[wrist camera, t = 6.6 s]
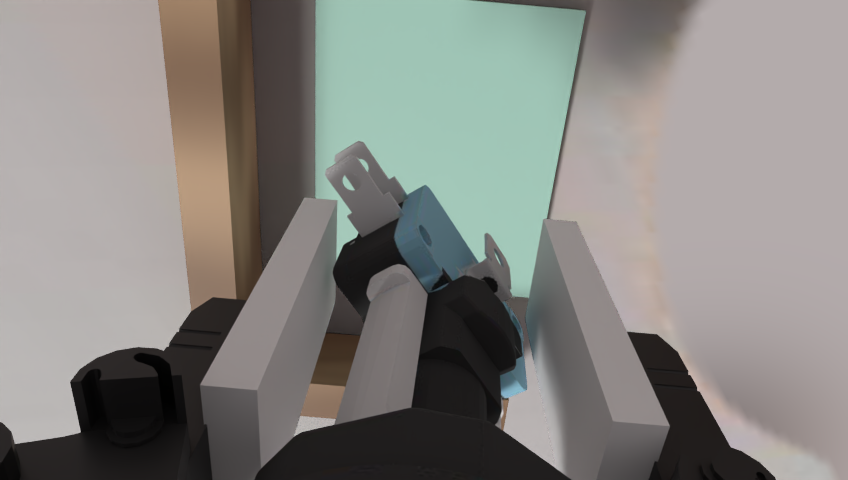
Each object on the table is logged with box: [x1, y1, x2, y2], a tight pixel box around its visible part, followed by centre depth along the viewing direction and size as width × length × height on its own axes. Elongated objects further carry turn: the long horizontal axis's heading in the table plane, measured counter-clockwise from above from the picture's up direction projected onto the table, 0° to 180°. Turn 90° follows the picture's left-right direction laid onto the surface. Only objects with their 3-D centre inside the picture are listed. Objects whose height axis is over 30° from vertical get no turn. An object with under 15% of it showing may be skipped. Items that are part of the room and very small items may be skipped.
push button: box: [254, 141, 571, 480], centre depth 11 cm, size 7×5×10 cm
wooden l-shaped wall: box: [158, 0, 509, 430], centre depth 18 cm, size 24×11×3 cm, turn 175°
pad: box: [315, 0, 586, 298], centre depth 20 cm, size 10×8×1 cm
